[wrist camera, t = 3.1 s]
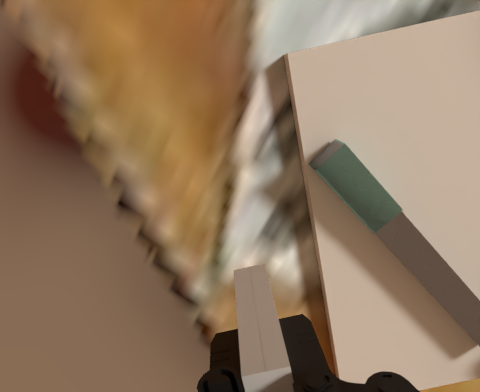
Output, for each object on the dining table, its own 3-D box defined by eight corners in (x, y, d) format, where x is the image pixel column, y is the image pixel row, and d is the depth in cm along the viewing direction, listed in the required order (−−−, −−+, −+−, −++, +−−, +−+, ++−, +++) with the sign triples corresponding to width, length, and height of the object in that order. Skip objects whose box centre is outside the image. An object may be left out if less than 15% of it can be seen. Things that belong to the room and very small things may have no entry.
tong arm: (307, 163, 20) (314, 170, 19) (335, 138, 20) (345, 143, 18) (479, 349, 25) (496, 367, 23) (504, 331, 24) (523, 348, 23)
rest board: (283, 54, 20) (287, 53, 19) (613, -19, 19) (637, -26, 18) (338, 391, 27) (343, 405, 26) (578, 342, 27) (594, 354, 26)
